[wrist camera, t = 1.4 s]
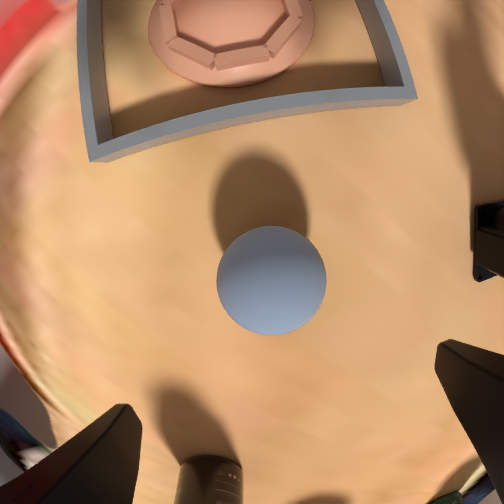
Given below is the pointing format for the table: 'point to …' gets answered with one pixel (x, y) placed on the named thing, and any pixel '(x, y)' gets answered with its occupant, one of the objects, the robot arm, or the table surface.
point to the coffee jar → (450, 499)
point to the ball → (271, 280)
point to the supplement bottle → (209, 481)
